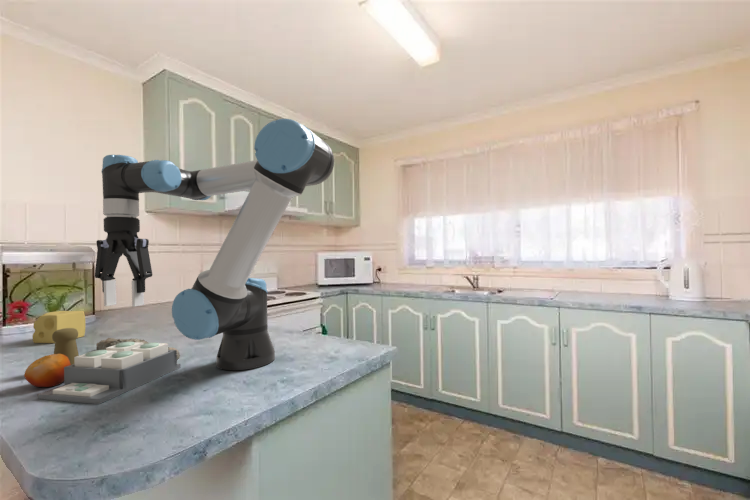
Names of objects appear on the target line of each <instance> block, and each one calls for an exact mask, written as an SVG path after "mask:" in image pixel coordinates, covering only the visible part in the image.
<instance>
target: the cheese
mask: <svg viewBox="0 0 750 500" xmlns="http://www.w3.org/2000/svg"><path fill="white" fill-rule="evenodd" d="M64 328H75V329H77V331H78V337H77V339H78V338H83V337H85V336H86V335H85V334H86V315H85V311H84V310H60V311H59V310H57V311H51V312H46V313H43V314H42V315H40V316H39V317H38V318H37V320H34V322H33V330H34V332H33V333H32V342H33V343H34V344H55V342H54V341H53V339H52V335H53V333H54V332H55V331H57V330H60V329H64Z"/></svg>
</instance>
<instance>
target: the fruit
mask: <svg viewBox="0 0 750 500" xmlns="http://www.w3.org/2000/svg"><path fill="white" fill-rule="evenodd" d="M70 365H71V364H70V361H69V359H68V357H67V356H65V355H63V354H54V353H51V354H48V355H44V356H42V357H39V358H37V359H36V360H34V361H33V362H32V363H31V364H29V365H28V366H27V367H26V369H25V372H24V375H23V376H24V379H25V380H26V381H27V382H28V384H30V385H31V386H33V387H36V388H51V387H55V386H58V385H60V384H62V383H64V367H66V366H70Z"/></svg>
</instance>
